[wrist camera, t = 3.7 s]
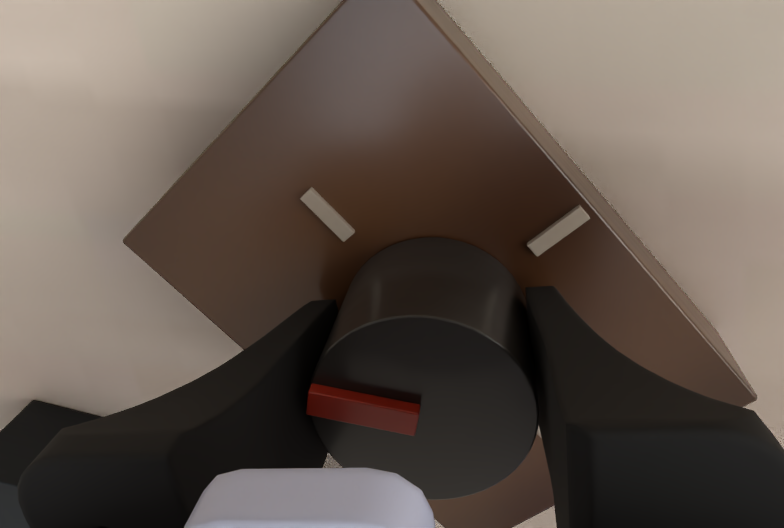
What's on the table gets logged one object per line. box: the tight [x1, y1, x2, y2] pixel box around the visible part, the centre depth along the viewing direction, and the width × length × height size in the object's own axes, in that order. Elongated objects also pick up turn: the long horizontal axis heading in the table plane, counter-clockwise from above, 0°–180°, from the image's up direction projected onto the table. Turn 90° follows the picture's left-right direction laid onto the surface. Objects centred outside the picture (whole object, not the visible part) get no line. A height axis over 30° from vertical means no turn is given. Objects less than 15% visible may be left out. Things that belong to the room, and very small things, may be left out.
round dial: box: [306, 237, 539, 500], centre depth 13 cm, size 4×4×4 cm
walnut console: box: [123, 0, 757, 528], centre depth 16 cm, size 13×9×3 cm
